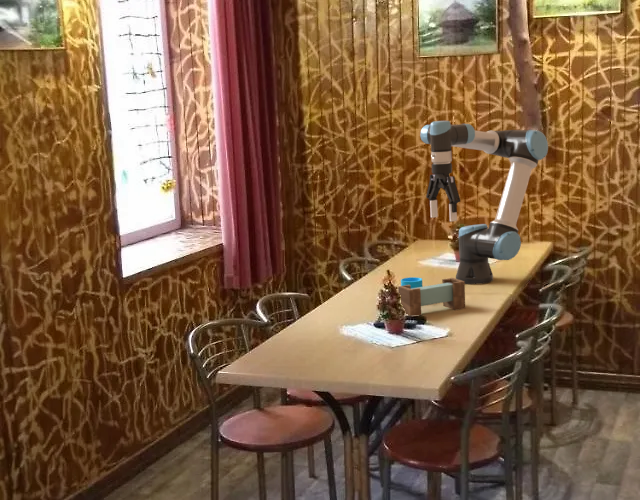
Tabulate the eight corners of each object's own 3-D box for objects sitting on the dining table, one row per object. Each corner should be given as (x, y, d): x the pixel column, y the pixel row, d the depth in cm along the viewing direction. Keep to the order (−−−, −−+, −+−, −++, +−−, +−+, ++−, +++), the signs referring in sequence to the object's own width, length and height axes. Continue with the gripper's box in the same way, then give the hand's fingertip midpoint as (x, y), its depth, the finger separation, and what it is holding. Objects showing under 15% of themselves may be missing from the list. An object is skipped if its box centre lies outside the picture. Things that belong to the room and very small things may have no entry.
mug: (417, 303, 353) (416, 282, 352) (398, 302, 357) (397, 281, 356) (430, 296, 363) (429, 275, 362) (411, 295, 367) (410, 274, 366)
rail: (450, 298, 345) (449, 282, 344) (456, 300, 342) (455, 284, 341) (407, 305, 338) (406, 289, 337) (413, 307, 335) (412, 291, 334)
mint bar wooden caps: (453, 304, 349) (452, 277, 347) (465, 308, 342) (464, 281, 340) (399, 313, 340) (398, 286, 338) (410, 317, 332) (409, 290, 331)
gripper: (416, 161, 358) (418, 216, 362) (451, 165, 336) (452, 223, 340) (432, 160, 361) (434, 214, 365) (468, 163, 339) (470, 221, 343)
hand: (443, 219), depth 352 cm, fingers open, 13 cm apart
